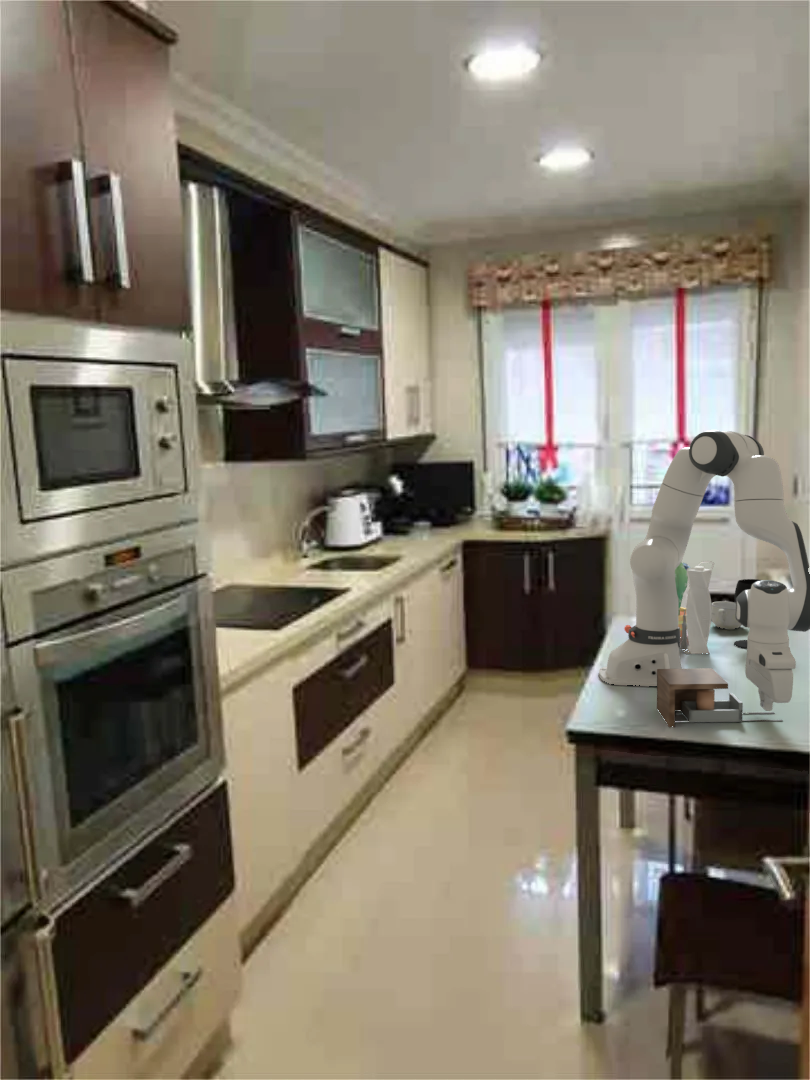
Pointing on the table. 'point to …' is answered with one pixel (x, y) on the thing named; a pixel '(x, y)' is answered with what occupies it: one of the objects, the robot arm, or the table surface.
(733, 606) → the teacup
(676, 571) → the potted cactus
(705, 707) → the peach cylinder
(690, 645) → the skyscraper
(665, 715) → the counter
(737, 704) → the tray
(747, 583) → the wine glass
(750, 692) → the table surface
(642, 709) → the table surface
